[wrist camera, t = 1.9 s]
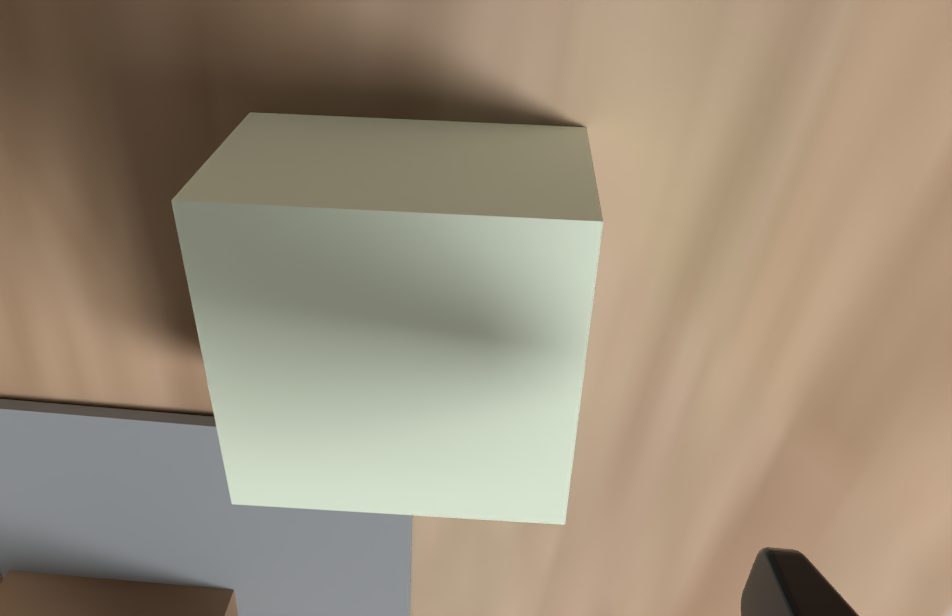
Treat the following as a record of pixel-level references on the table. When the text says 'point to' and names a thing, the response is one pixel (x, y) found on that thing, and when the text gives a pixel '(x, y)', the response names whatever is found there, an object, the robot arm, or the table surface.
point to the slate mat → (181, 517)
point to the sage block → (395, 311)
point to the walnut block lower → (107, 597)
